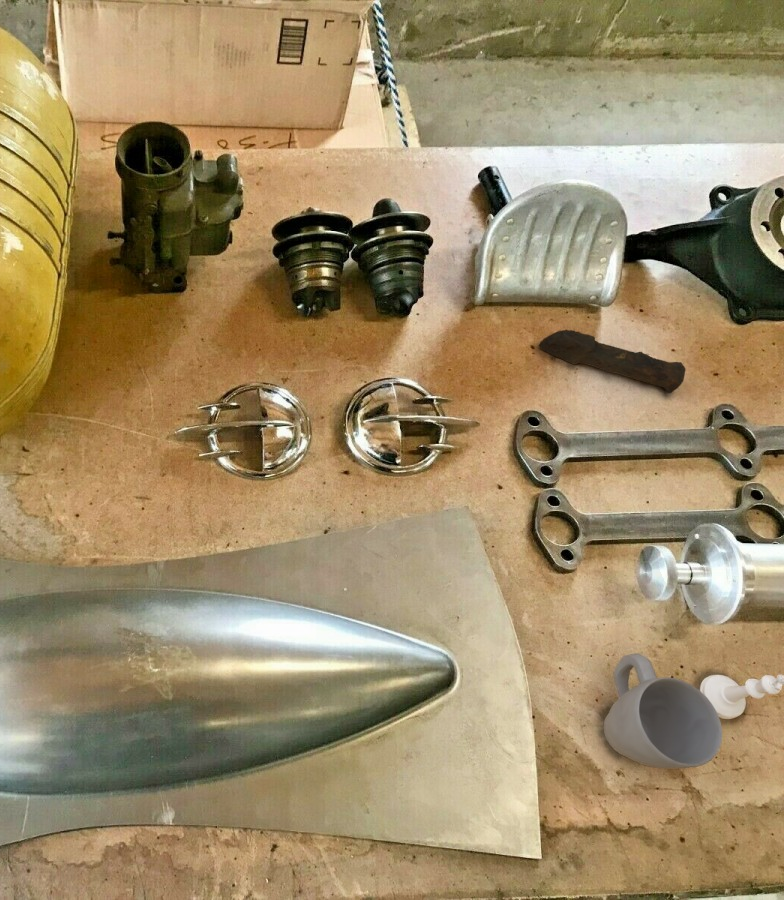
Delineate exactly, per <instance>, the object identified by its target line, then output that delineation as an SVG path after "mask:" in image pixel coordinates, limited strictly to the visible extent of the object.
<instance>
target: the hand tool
mask: <svg viewBox="0 0 784 900" xmlns="http://www.w3.org/2000/svg"><path fill="white" fill-rule="evenodd" d="M538 346H539V348H540V349H541V350H543V351H544V352H546V353H548V354H550V355H552V356H553V357H556V358H558V359H561V360H564V361H566V362H567V363H570V364H572V365H577V364H584V365H588V366H592V367H594V368H597V369H599V370H604V371H606V372H608V373H613V374H618V375H621V376H624V377H627V378H630V379H633V380H637V381H639V382H644V383H647V384H650V385H655V386H658V387H661V388H664V390H665V393H666V394H672V393H673V392H674V391H676V390H677V389H678V388H679V387H681V385H682V384H683V382H684V380H685V375H686V371H687V369H686V366H685V365H684V364H683V363H682V362H681V361H666V360H662V359H659V358H655V357H652V356H650V355H648V354H647V353H644V352H642V351H636V352H635V351H632V350H627V349H625V348H624V349H623V348H621V347H617V346H614V345H609V344H606V343H603V342H599V341H597V340H596V337H595V336H594V335H591V334H587V333H582V332H580V331H576V330H572V329H569V330H568V329H564V330H558V331H556V332H554V333H551V334H549V335H548V336H545V337H544V338H543V339H542V340H541V341H540V342H539V343H538Z"/></svg>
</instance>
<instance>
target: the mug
mask: <svg viewBox="0 0 784 900" xmlns="http://www.w3.org/2000/svg"><path fill="white" fill-rule="evenodd" d="M633 669H634V670H635V674H636V676H637V680H638V684H637V685H635V686H634V687H632V688H630V685H629V681H630V680H629V679H630V674H631V671H632V670H633ZM613 681H614V685H615V689H616V693H617V695H618V698H617V700H616V701H615V702H614V703H613V705H611V707H610V710H609V711H608V713H607V715H606V716H605V718H604V721H603V733H604V736H605V739H606V741H607V742H608V745H610V747H611V748H612V749H613V750H614V751H615V752H616V753H618V754H619V755H621V756H623V757H626V758H627V759H630V760H631V761H633V762H635V763H637V764H640V765H642V766H647V767H650V768H656V769H665V770H684V769H685V770H686V769H692V768H696V767H701V766H704V765H706V764H708V763H709V762H711V761H712V760H714V758H715V757H716V756H717V754H718V753H719V751H720V748H721V746H722V742H723V741H722V740H723V728H722V723H721V720H720V719H721V718H720V717H718V714H717V712H716V710H715V708H714V707H713V705H712V704H711V702H710V701H709V700H708V698H707V697H706V696H705V695H704V694H703V693H702V692H701V691H700V689H698V688H697V687H696V686H694V685H693V684H691V683H689V682H687V681H685V680H682V679H680V678H675V677H670V676H669V677H658V676H657V673H656V670H655V668H654V666H653V663H652V661H651V660H650V659H649V658H648V657H647V656H645V655H643V654H641V653H630V654H626V655H623V656H622V657H621V658H620V659H619V660H618V662H617V664H616V666H615V668H614V670H613Z"/></svg>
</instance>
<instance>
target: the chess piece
mask: <svg viewBox="0 0 784 900" xmlns="http://www.w3.org/2000/svg"><path fill="white" fill-rule="evenodd" d="M744 684H745V685H739V684H738V683H737V682H736V681H735V680H733V678H731V677H729V676H726V675H723V674H711V675H708V676H706V677H705V678H704V679H703V680H702V681H701V683H700V687H699V691H701V692H702V693H703V694H704V695H705V696H706V697H707V698H708V700H709V701H710V702H711V704H712V705H713V707H714V708H715V710H716V712H717V714H718V717H719V719H724V720H733V719H735V718H737V717H740V716H741V715H742V714H743V713H744V711H745V709H746V704H747V701H746V698H747V697H749V696H750V697H752V698H754V699H756V700H757V699H759V700H760V699H762V698H763V697H765V696H766V694H769V695H777V694H779V693H780V692H781V691H782V688H783V685H784V675H783V674H781V673H780V674H777V676H776V677H775V676H773V675H771V674H765V675H763V676H761V678H760V679H757V678H748V679H747V680H745V683H744Z"/></svg>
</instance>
